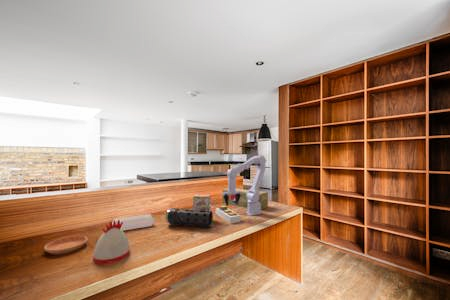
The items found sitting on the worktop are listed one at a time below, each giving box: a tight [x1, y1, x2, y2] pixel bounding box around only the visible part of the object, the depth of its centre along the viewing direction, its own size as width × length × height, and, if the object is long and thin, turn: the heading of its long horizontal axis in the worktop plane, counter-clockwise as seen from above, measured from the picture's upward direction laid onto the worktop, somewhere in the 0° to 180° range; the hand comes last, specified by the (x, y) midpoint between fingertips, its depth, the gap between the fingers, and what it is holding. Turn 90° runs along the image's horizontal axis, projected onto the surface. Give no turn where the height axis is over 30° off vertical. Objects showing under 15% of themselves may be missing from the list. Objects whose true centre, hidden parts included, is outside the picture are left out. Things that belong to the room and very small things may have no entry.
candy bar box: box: [192, 194, 211, 211], centre depth 134 cm, size 11×5×16 cm, turn 84°
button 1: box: [218, 204, 228, 211], centre depth 145 cm, size 4×4×3 cm
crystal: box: [111, 213, 155, 232], centre depth 120 cm, size 7×7×24 cm
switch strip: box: [215, 207, 242, 224], centre depth 139 cm, size 8×24×4 cm, turn 25°
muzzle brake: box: [164, 208, 214, 229], centre depth 122 cm, size 10×28×10 cm, turn 78°
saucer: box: [44, 235, 89, 256], centre depth 93 cm, size 16×16×3 cm
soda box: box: [222, 187, 269, 210], centre depth 175 cm, size 40×14×13 cm, turn 50°
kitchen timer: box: [92, 220, 131, 265], centre depth 87 cm, size 14×14×15 cm
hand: (231, 204), depth 140 cm, fingers open, 7 cm apart
